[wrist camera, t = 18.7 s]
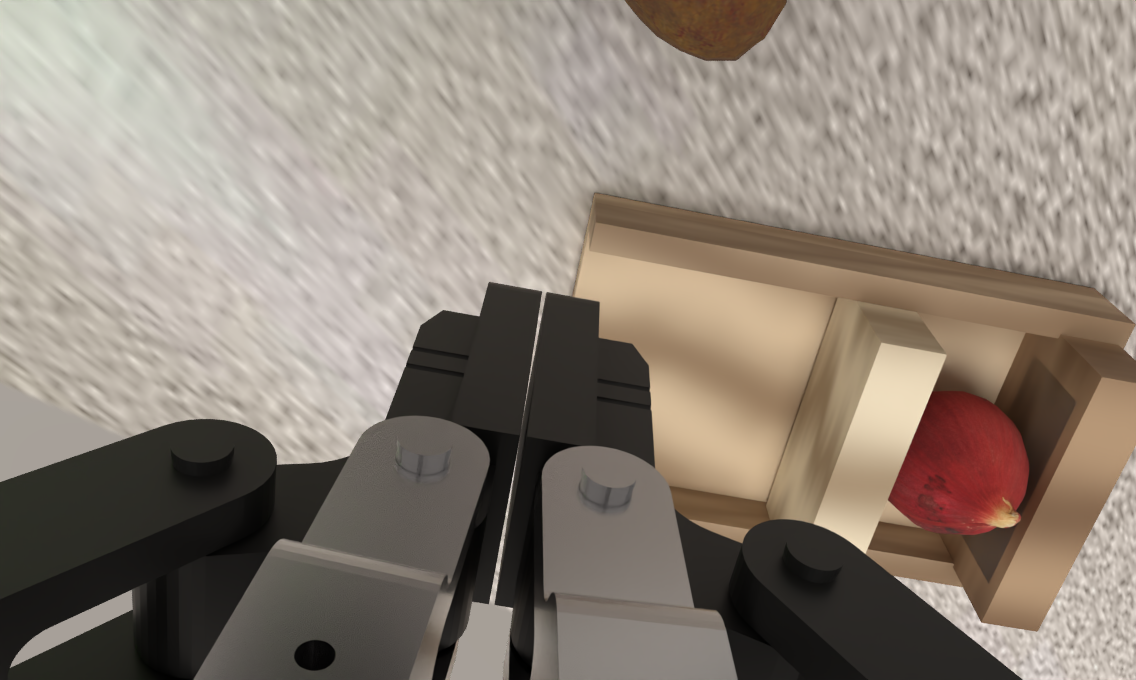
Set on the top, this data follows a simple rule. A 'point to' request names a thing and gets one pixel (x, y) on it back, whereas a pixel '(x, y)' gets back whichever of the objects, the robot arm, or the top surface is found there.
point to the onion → (962, 467)
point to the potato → (709, 24)
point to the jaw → (856, 419)
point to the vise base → (788, 354)
